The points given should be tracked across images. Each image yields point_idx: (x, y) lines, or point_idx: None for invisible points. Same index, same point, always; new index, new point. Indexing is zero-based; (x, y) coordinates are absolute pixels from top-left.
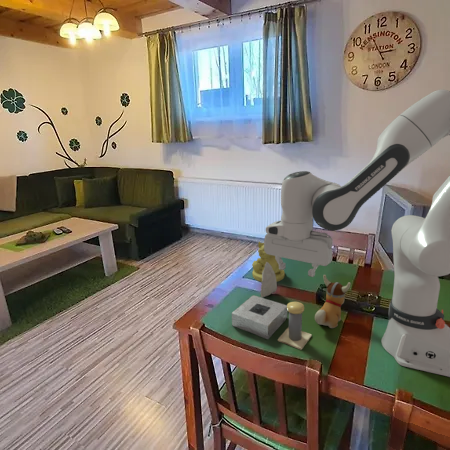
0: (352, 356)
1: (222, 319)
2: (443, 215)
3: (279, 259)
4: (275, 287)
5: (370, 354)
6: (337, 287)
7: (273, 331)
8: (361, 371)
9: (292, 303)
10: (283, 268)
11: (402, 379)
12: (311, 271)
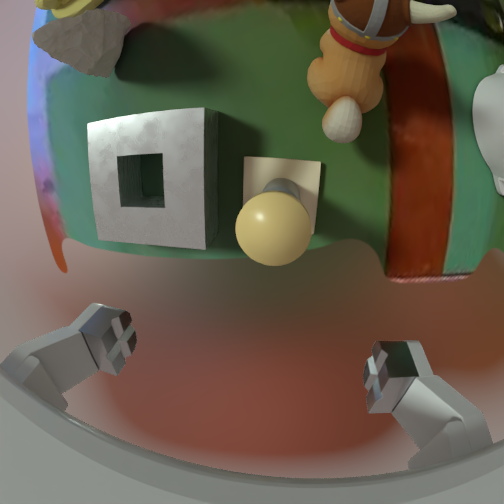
0: (427, 201)
1: (92, 216)
2: None
3: (56, 375)
4: (122, 22)
5: (458, 178)
6: (394, 11)
7: (216, 203)
8: (442, 241)
9: (252, 217)
10: (130, 349)
11: (495, 230)
12: (397, 415)
